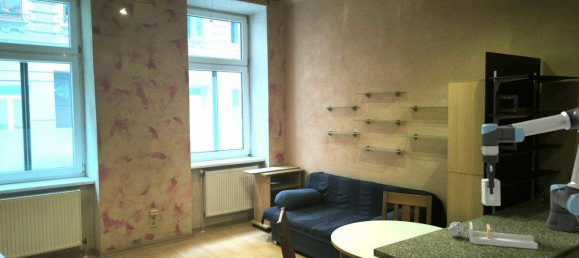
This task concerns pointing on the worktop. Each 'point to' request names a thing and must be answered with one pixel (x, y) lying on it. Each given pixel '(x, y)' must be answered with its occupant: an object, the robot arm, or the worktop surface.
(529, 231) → the worktop surface
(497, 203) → the supplement box
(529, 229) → the worktop surface
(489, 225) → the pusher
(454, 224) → the game die
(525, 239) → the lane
